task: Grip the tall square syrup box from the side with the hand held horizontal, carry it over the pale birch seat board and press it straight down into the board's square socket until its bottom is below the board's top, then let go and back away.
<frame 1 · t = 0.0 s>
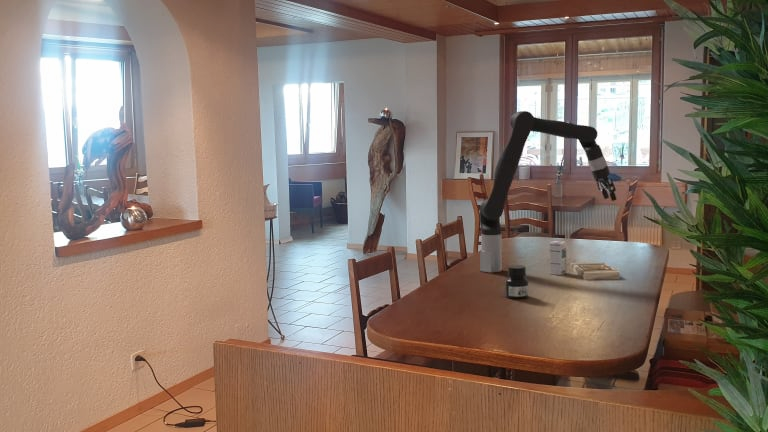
hand: (610, 199, 328), 31 cm above the table, tool tilted 20°, fingers open, 8 cm apart
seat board: (594, 274, 314), on the table
syrup box: (557, 274, 316), on the table
ink bottle: (516, 297, 275), on the table
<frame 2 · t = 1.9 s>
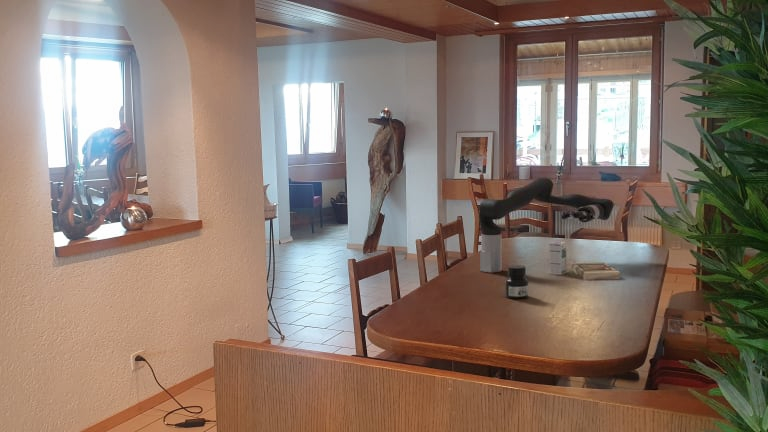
hand: (571, 217, 322), 24 cm above the table, tool horizontal, fingers open, 8 cm apart
nothing on the table moved.
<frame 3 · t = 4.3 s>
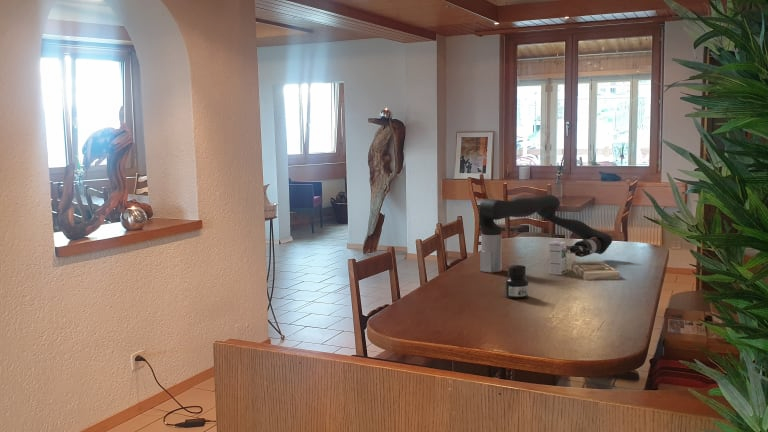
hand: (567, 252, 320), 9 cm above the table, tool horizontal, fingers open, 8 cm apart
nothing on the table moved.
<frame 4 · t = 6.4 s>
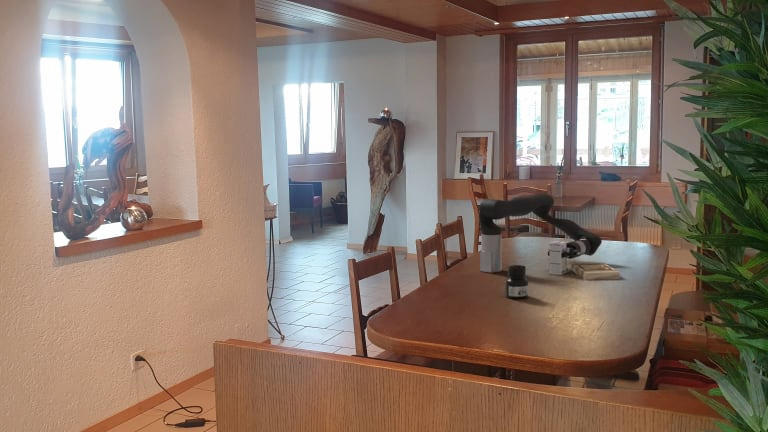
hand: (555, 254, 314), 9 cm above the table, tool horizontal, fingers closed on syrup box, 6 cm apart
syrup box: (557, 273, 316), on the table, touching gripper
everything else where it was.
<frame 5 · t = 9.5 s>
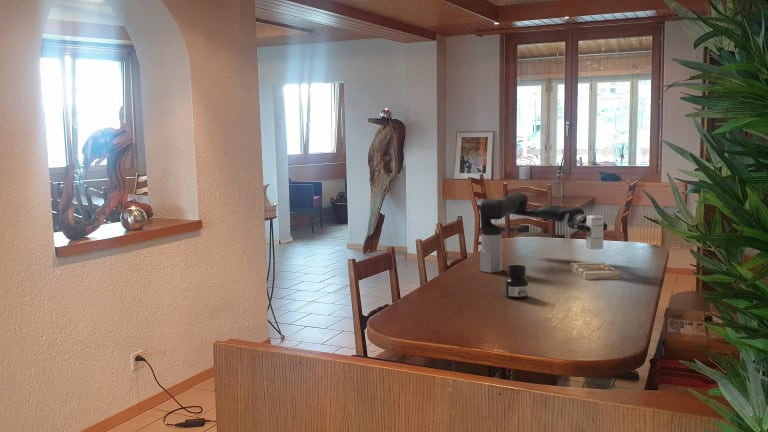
hand: (596, 228, 309), 21 cm above the table, tool horizontal, fingers closed on syrup box, 6 cm apart
syrup box: (594, 248, 312), point 11 cm above the table, touching gripper
everything else where it was.
when the fingers open (10 cm above the table, at t = 12.7 s): syrup box stays where it is, resting in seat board.
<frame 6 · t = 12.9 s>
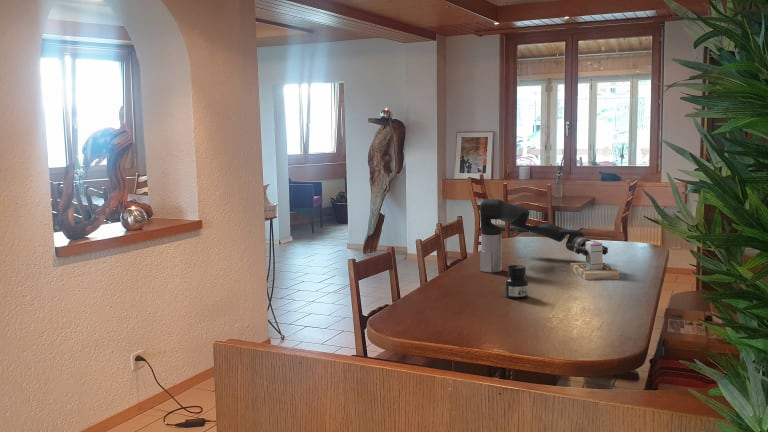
hand: (595, 252, 311), 10 cm above the table, tool horizontal, fingers open, 7 cm apart
syrup box: (593, 274, 314), resting in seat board
everything else where it was.
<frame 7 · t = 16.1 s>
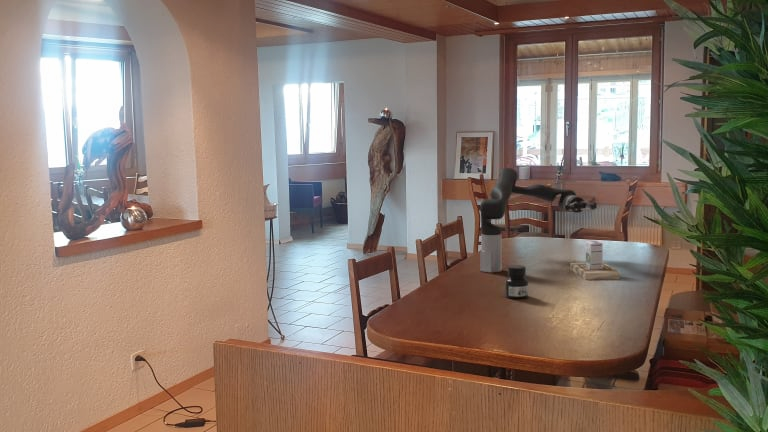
hand: (583, 207, 321), 28 cm above the table, tool horizontal, fingers open, 8 cm apart
nothing on the table moved.
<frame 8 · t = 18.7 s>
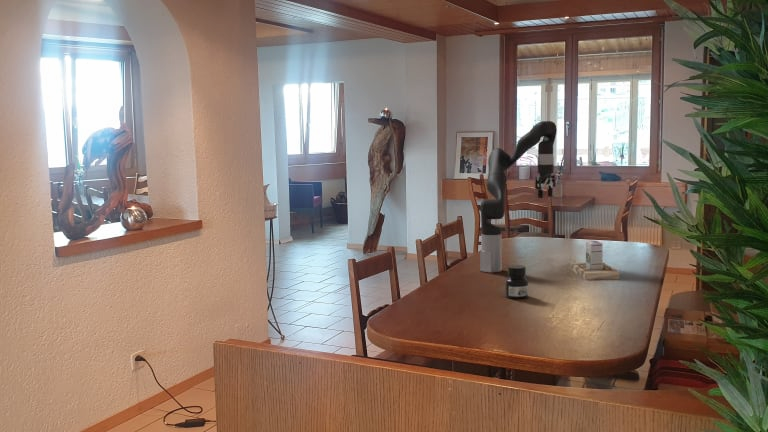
hand: (545, 197, 336), 32 cm above the table, tool pointing down, fingers open, 8 cm apart
nothing on the table moved.
at the end: syrup box 0.1 cm off-centre on the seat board, point 0.0 cm above the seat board's base; syrup box tilted 0°; the gripper is holding nothing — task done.
